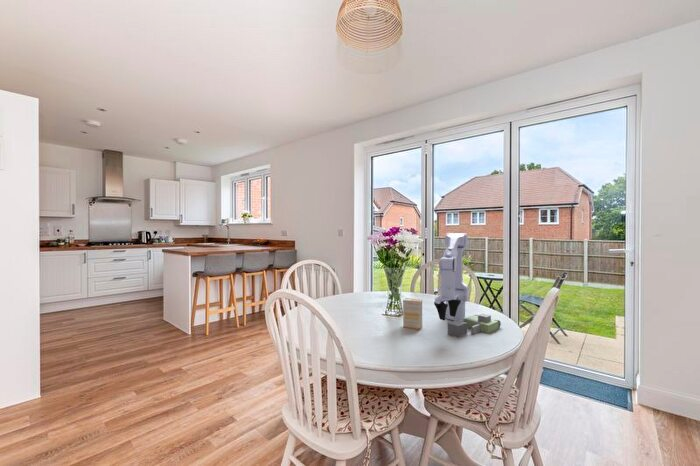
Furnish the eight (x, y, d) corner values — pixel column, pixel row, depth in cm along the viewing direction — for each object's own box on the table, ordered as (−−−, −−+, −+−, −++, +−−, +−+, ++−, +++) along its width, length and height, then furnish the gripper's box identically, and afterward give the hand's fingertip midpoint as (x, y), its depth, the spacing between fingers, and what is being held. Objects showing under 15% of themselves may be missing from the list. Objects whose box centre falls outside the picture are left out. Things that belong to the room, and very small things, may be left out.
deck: (455, 328, 142) (455, 315, 141) (475, 321, 152) (475, 309, 152) (480, 336, 132) (481, 322, 132) (501, 327, 143) (501, 315, 142)
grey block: (447, 334, 135) (447, 323, 135) (457, 330, 139) (457, 319, 139) (457, 337, 131) (457, 326, 131) (467, 334, 135) (467, 322, 135)
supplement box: (422, 326, 144) (422, 298, 144) (420, 330, 140) (420, 301, 140) (405, 324, 148) (405, 297, 148) (402, 327, 144) (402, 299, 143)
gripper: (445, 289, 122) (445, 323, 123) (465, 285, 131) (465, 316, 131) (430, 286, 128) (430, 319, 128) (451, 282, 137) (451, 313, 137)
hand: (447, 317), depth 130 cm, fingers open, 7 cm apart
